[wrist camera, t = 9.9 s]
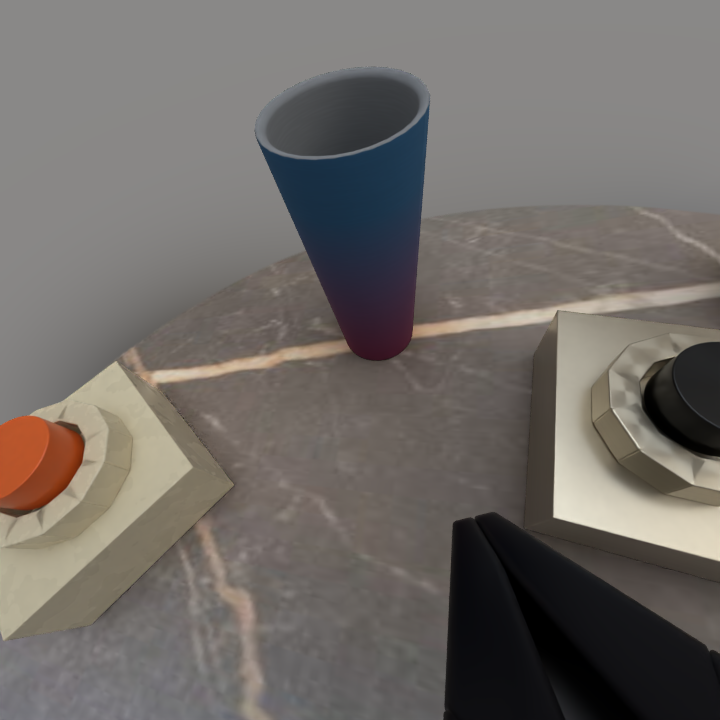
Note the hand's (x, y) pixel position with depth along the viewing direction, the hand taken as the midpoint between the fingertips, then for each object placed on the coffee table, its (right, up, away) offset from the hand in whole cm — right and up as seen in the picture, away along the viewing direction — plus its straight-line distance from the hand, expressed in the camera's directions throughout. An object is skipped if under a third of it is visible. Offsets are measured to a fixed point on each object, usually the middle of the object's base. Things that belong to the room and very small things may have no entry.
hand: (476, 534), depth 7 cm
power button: (-18, -2, +11) cm, 21 cm away
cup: (-1, +5, +19) cm, 20 cm away
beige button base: (+13, -2, +13) cm, 18 cm away
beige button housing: (-17, -5, +16) cm, 24 cm away
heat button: (+12, +1, +7) cm, 14 cm away
